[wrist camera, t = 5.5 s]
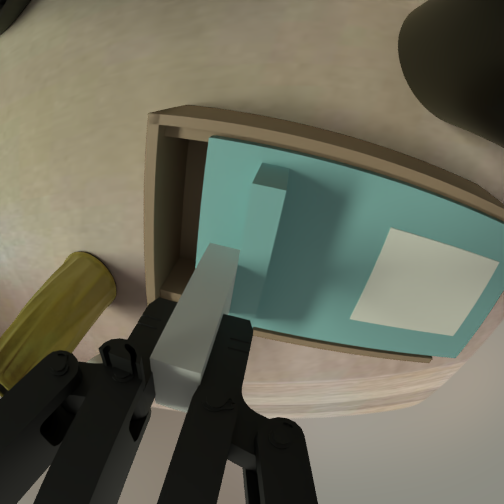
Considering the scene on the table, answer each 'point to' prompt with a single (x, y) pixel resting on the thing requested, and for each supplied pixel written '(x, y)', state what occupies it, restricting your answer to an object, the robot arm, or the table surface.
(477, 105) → the water bottle
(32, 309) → the vase
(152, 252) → the wooden sliding-lid box
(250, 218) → the lid
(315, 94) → the table surface
